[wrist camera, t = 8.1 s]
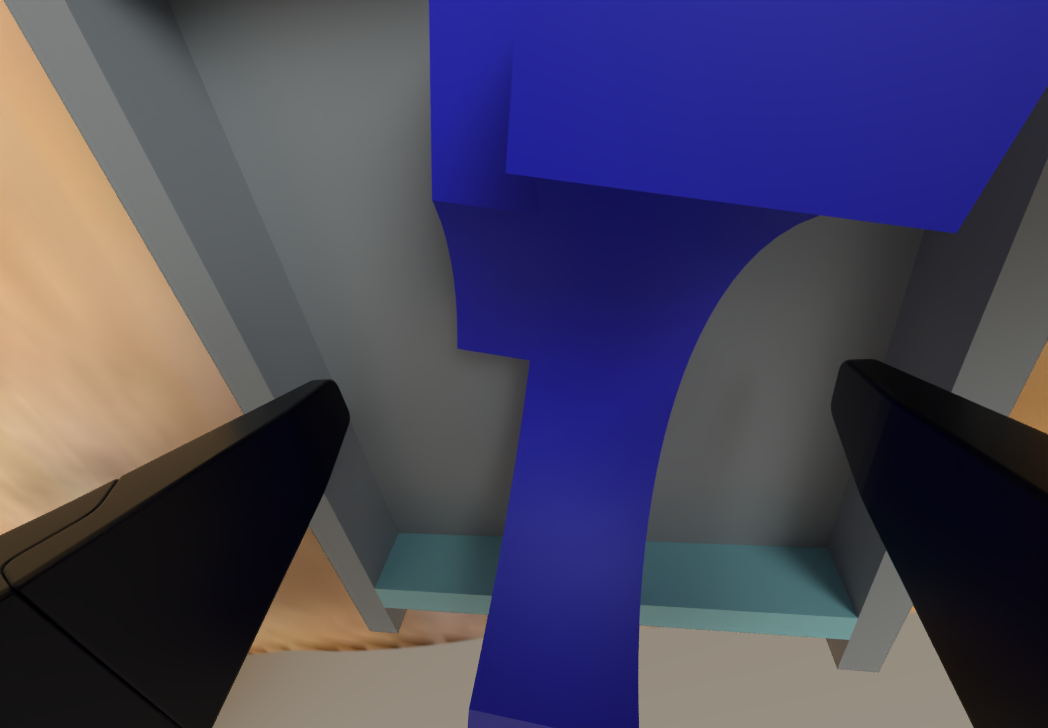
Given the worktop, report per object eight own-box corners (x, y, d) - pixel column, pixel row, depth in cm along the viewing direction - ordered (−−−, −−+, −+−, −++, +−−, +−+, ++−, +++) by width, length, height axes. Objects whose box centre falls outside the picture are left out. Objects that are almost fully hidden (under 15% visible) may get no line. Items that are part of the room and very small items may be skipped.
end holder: (1243, -654, 5) (1947, -1440, 2) (835, 571, 15) (878, 672, 13) (61, -218, 8) (-197, -344, 5) (402, 552, 18) (370, 631, 16)
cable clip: (487, -18, 8) (255, -152, 3) (776, 12, 7) (1146, -76, 2) (467, 490, 14) (391, 724, 9) (616, 517, 14) (621, 775, 9)
